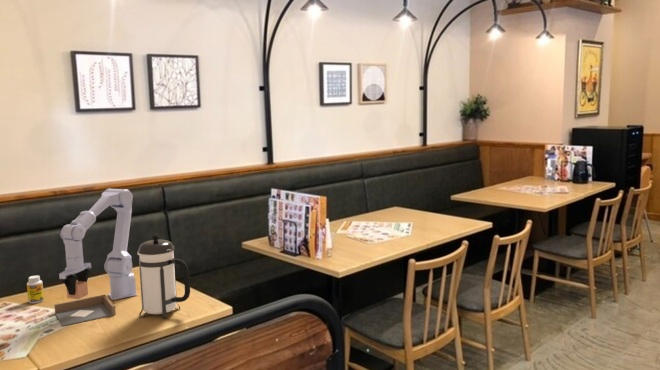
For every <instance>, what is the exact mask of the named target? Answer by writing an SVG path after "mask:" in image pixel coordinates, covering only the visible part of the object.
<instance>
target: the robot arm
mask: <svg viewBox="0 0 660 370" xmlns="http://www.w3.org/2000/svg"><path fill="white" fill-rule="evenodd" d="M133 198H134V197H133V193H132V192H131V191H130V189H126V188H125V189H123V188H122V189H121V188H110V187H109V188H106V189H105V190H104V191H103V192H102V193H101V197H100V198H98V200H97V201H96V202H95V203H94V205H92V206H91V208H89V210H83V211H81V212H79V215H78V216H77V217H76V218H75V219H74V220H73V219H72V221H71V222H70V223H69V224H68V223H67V224H65V225H63V227H62V228H61V230H60V233H59V236H60V238H61V239H62V241H63V244H64V250H65V262H66V267H65V268H64V270H62V272H60V273H58V275H59V278H58V279H59V280H61V282H63V284H64V285H65V287H67V288H66V291H67V290H68V292H69V295H75V291H76V289H75V286H76V281H83V282H87V283H88V279H89V277H90V275H91V273H92V272H91V269H92V263H91V262H84V261H85V260H84V250H83V239H84V237H85V236H86V232H87V231H88V230H89V229H90V227H92V225H94V223H96V221H97V217H98V216H99V215H100V214H101V213H103V211H105V210H106V209H108V207H111V208H112V209H113V210H115V211H116V214H117V215H116V222H115V230H114V239H113V245H112V251H110V252H109V253H108V254H107V257H106V260H105V262H104V265H103V266H104V270H105V272H106V273H107V275H108V276H109V288H110V293H108V294H107V295H108V297H109V299H111V300H112V301H115V300H120V299H124V298H129V297H130V298H131V297H134V296H137V295H138V294H137V289H136V288H137V287H136V286H137V285H136V278H135V274H134V272H132V270H133V261H132V255H131V254H130V253H129V252H128V244H129V238H130V237H129V236H130V228H131V220H132V213H133V207H132V206H133V200H134V199H133ZM74 275H76V276H74Z"/></svg>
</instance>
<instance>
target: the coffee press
mask: <svg viewBox="0 0 660 370" xmlns="http://www.w3.org/2000/svg"><path fill="white" fill-rule="evenodd" d="M151 238H152V239H151V240H147V241H144V242H143V243H141V244H140V245H139V246H138V247H139V248H138V249H137V256H139V258H138V263H139V280H140V295H141V297H140V298H141V310H140V312H139V313H138V315H139V317H140V318H144V317H145V315H147V314H148V315H162V316H161V318H162V320H166V319H168V313H170V312H172V311H173V310H174V309H175V310H177V308H176V307H177V306H178V308H179V310H180V309H181V306H180V305H179V304H178V303H182V302H185V301H186V300H188V299H189V297H190V295H191V282H190V281H191V278H190V270H189V267H188V265H187V262H186V261H184V260H182V259H179V258H175V254H174V252H175V245H173V243H172V242H171V241H169V240H166V239H159V238H160V236H159V235H158V234H156V233H155V234H153V235H152V237H151ZM176 265H179V266H180V267H181V268H182V271H183V278H184V279H183V280H184V281H183V284H184V295H182V296H177V285H176V279H177V278H176V268H175V267H176ZM143 311H144V313H143ZM142 313H143V314H142Z"/></svg>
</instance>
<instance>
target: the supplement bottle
mask: <svg viewBox="0 0 660 370" xmlns="http://www.w3.org/2000/svg"><path fill="white" fill-rule="evenodd" d="M43 284H44V283H43V280H41V277H40V275H31V276H29V277H28V281H27V283H26V290H27V291H26V292H27V302H28V303H29V304H40V303H43V301H44V299H45V297H44V296H45V295H44V285H43Z"/></svg>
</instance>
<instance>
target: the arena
mask: <svg viewBox="0 0 660 370" xmlns="http://www.w3.org/2000/svg"><path fill="white" fill-rule="evenodd" d="M54 314H55V315H57V316H56V317H57V319H58V321H59V322H60V324H61V326H62V327H66V326H70V325H71V326H72V325H75V324H81V323H84V322H89V321H94V320H97V319H98V320H99V319H103V318H107V317H111V316H116V315H117V314H116V305H115V304H114V302H112V301H111V300H110V298H109V297H108V296H107V295H106V294H101V295H95V296H91V297H86V298H80V299H75V300H70V301H66V302H61V303H54Z"/></svg>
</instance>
